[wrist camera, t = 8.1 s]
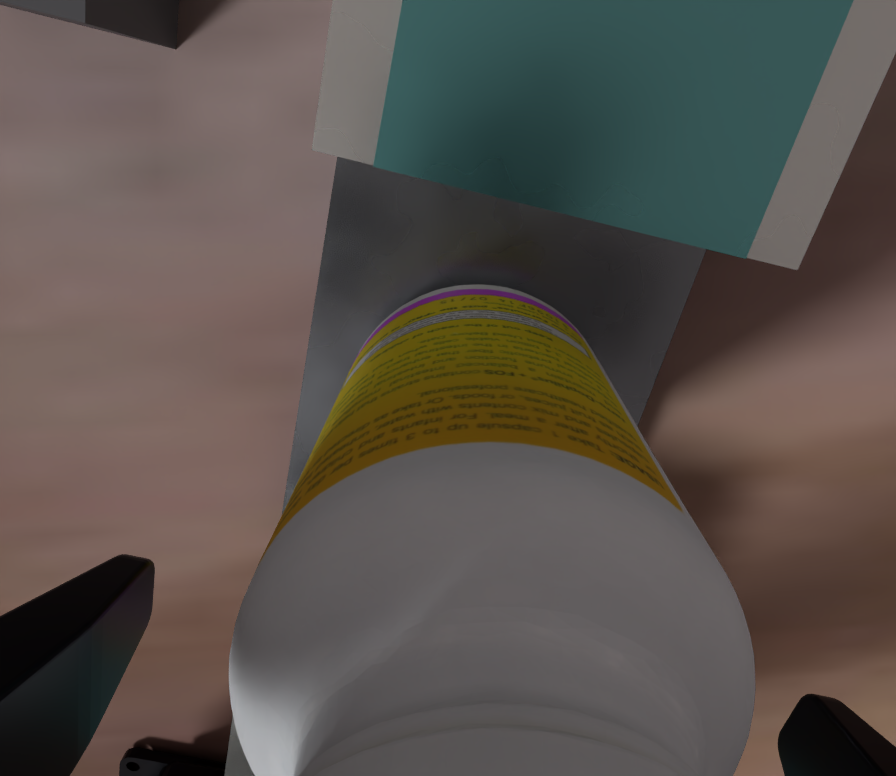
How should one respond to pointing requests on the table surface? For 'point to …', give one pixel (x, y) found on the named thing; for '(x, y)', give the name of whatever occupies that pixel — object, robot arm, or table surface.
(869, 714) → the table surface
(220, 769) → the robot arm
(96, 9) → the loose gray rectangular block
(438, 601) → the supplement bottle
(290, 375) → the table surface
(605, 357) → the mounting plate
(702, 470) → the table surface
